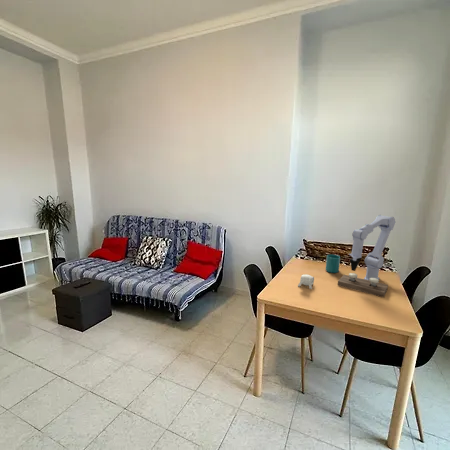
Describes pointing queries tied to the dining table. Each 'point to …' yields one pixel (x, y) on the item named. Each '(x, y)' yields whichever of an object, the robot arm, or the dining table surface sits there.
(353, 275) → the button
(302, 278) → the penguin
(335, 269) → the cup
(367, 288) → the console
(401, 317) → the dining table surface
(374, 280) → the button
